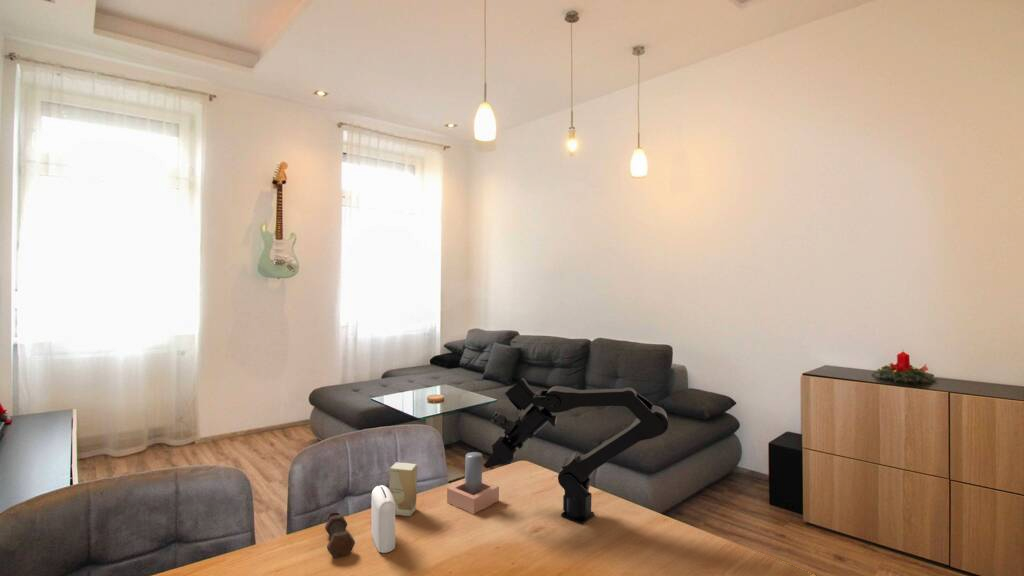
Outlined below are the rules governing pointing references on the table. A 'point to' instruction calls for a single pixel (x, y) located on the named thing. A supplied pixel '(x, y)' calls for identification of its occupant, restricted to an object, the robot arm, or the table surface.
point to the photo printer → (383, 519)
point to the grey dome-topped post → (473, 473)
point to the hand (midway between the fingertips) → (490, 460)
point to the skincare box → (403, 487)
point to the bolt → (338, 536)
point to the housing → (472, 497)
